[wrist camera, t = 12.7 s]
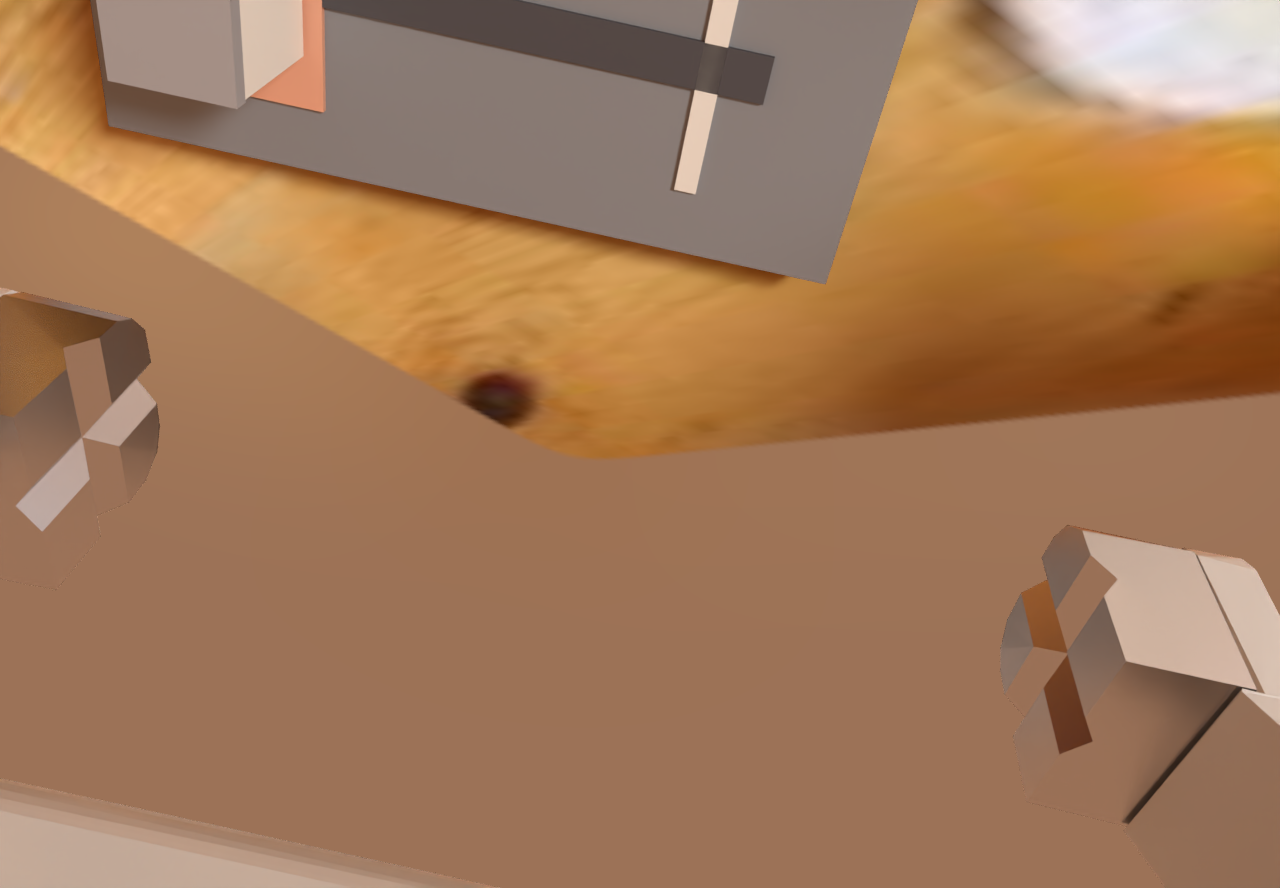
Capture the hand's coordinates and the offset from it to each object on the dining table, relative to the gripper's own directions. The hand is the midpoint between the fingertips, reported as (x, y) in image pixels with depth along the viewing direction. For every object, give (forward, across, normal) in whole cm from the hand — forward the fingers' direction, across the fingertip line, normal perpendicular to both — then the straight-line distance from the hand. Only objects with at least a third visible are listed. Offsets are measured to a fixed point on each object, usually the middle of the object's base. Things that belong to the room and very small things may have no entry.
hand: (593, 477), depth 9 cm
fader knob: (+28, +16, +5) cm, 33 cm away
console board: (+31, +8, +5) cm, 32 cm away
